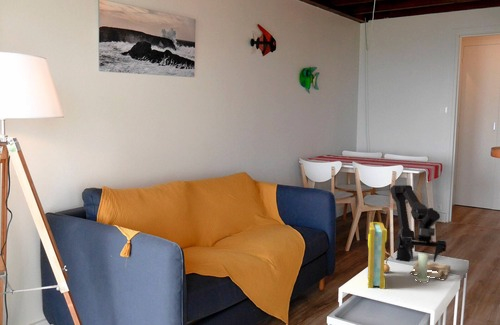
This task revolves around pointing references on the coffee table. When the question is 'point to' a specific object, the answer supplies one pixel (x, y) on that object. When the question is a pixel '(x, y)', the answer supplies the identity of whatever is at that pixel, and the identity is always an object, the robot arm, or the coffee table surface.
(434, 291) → the coffee table surface
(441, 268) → the keyhole board
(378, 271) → the book
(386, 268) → the figurine
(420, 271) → the sage peg
